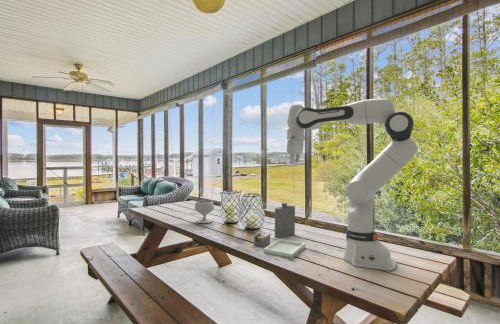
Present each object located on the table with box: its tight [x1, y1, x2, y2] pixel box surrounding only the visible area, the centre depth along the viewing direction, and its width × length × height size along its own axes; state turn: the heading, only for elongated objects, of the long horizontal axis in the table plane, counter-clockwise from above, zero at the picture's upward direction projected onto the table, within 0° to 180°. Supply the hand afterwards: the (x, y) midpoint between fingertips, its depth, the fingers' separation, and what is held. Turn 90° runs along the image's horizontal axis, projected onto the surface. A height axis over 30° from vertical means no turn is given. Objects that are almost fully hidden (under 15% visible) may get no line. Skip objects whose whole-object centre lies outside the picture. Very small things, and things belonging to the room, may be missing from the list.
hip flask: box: [274, 202, 296, 239], centre depth 169 cm, size 16×4×20 cm, turn 128°
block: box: [257, 235, 266, 243], centre depth 151 cm, size 4×4×4 cm
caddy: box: [253, 232, 271, 248], centre depth 151 cm, size 6×6×6 cm
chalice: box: [194, 199, 215, 224], centre depth 202 cm, size 14×14×15 cm
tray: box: [263, 238, 306, 260], centre depth 143 cm, size 15×19×2 cm
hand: (294, 162), depth 146 cm, fingers open, 8 cm apart
